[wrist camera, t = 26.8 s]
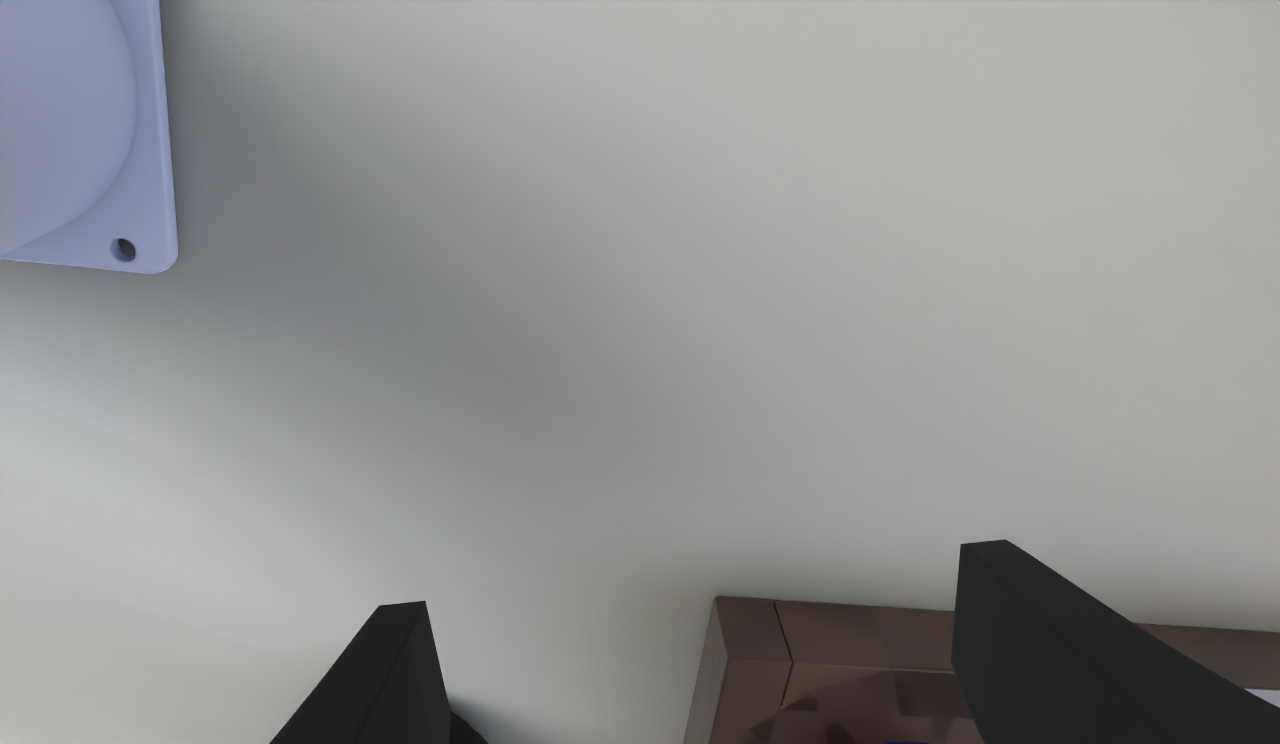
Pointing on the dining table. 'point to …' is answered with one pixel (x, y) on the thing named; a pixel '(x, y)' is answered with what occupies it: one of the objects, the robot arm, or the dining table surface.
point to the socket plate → (881, 673)
